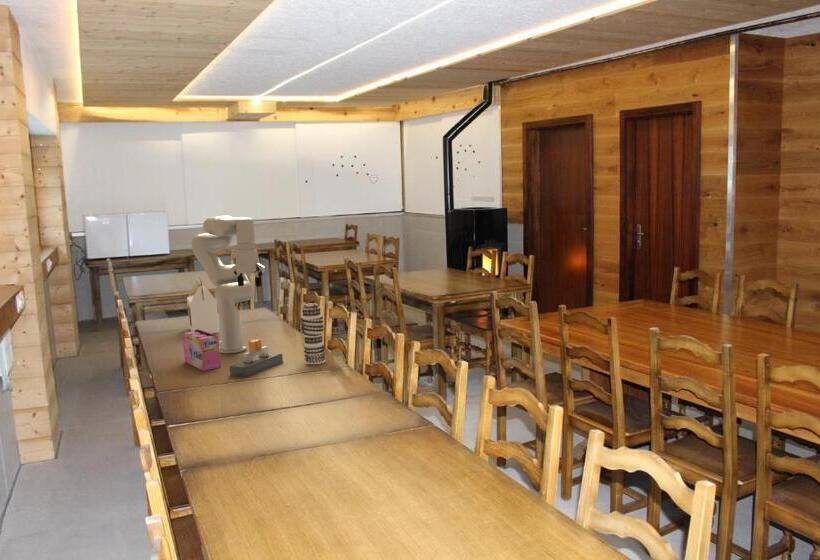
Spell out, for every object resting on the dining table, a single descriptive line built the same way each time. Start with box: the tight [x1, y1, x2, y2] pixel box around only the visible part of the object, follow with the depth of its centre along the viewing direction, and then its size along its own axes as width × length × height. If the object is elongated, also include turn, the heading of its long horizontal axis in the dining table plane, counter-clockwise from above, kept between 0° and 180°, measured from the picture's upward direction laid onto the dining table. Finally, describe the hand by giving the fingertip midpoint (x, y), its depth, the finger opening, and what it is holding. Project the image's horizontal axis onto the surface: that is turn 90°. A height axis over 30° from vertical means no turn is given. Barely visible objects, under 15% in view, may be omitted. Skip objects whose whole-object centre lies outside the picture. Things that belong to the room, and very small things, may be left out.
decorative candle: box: [300, 302, 326, 365], centre depth 315 cm, size 9×9×25 cm
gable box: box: [186, 277, 220, 335], centre depth 399 cm, size 22×13×28 cm, turn 21°
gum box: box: [181, 329, 222, 372], centre depth 324 cm, size 24×8×14 cm, turn 37°
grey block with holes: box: [229, 351, 284, 378], centre depth 311 cm, size 8×24×4 cm, turn 152°
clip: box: [242, 338, 269, 364], centre depth 310 cm, size 3×14×12 cm, turn 152°
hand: (249, 286), depth 324 cm, fingers open, 9 cm apart
